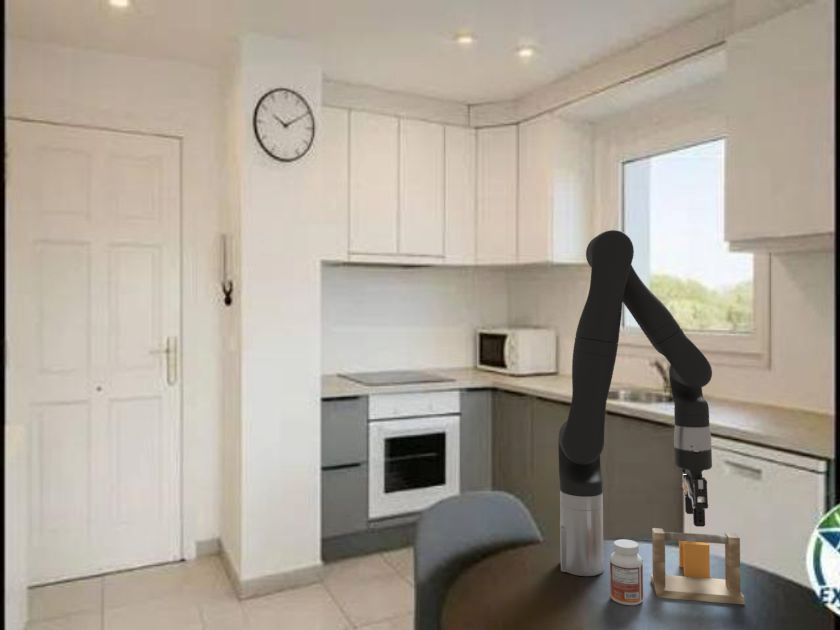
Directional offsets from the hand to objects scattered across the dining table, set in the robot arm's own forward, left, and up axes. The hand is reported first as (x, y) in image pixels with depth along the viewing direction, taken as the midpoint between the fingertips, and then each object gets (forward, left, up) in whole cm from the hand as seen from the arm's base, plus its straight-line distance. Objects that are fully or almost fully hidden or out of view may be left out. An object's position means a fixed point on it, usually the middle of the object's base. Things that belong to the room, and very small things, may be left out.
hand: (694, 519), depth 136 cm
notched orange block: (0, 0, -11) cm, 11 cm away
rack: (-2, -11, -11) cm, 16 cm away
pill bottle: (-16, -17, -12) cm, 26 cm away
